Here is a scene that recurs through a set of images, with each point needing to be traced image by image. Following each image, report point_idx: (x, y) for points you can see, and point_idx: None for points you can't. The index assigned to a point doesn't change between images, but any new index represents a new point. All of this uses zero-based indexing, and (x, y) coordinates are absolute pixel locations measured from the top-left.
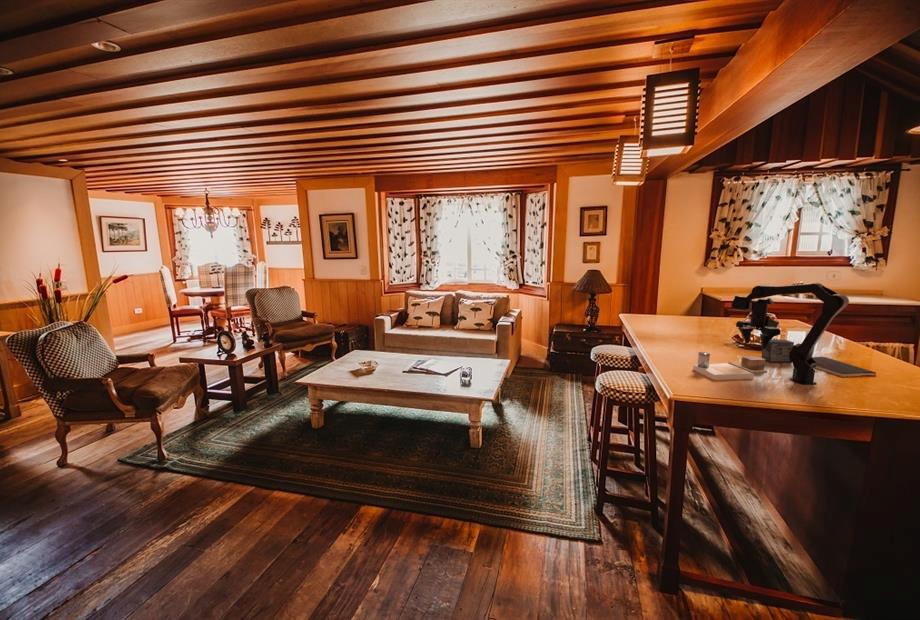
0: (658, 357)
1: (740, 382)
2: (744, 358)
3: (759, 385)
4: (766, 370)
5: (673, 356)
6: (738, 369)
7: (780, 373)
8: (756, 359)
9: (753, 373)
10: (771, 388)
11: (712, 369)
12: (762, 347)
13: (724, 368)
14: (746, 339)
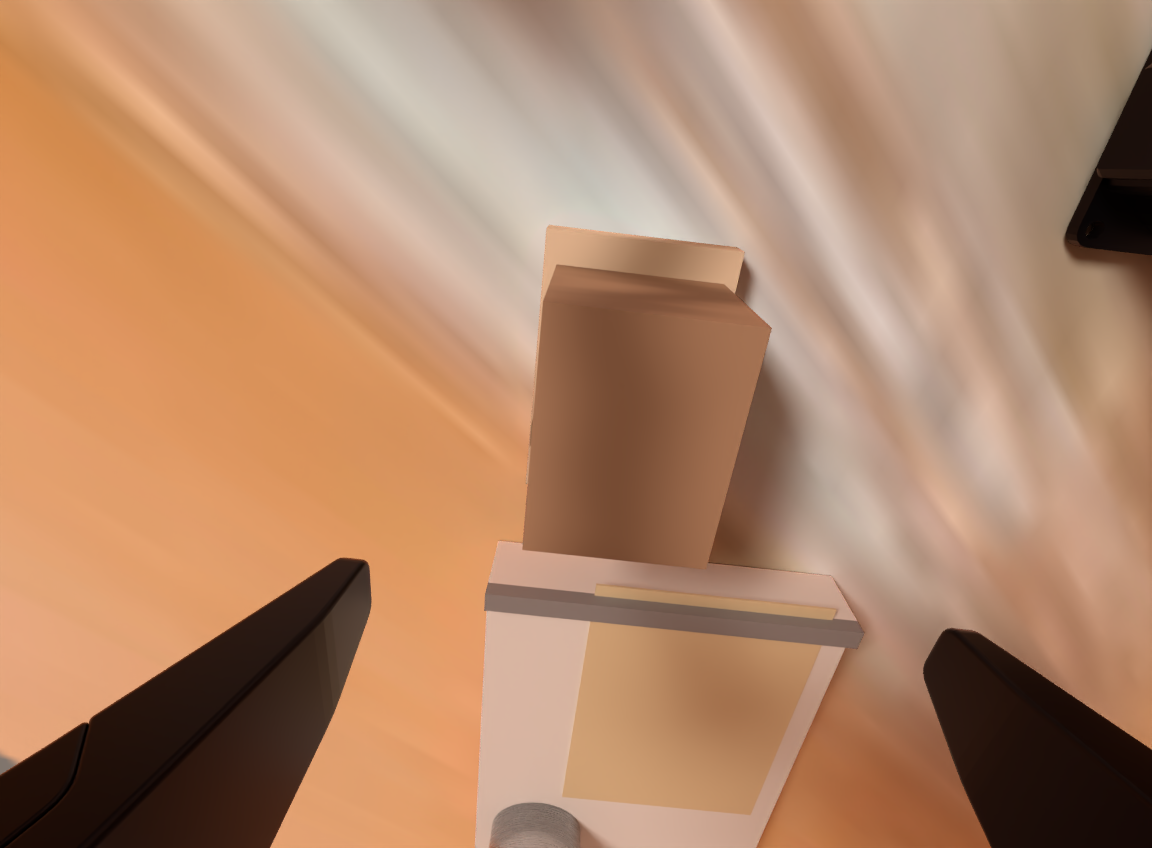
0: None
1: (847, 725)
2: (576, 546)
3: None
4: (741, 259)
5: (78, 714)
6: (710, 668)
7: (852, 88)
8: (714, 477)
9: (852, 621)
10: (1070, 637)
11: (628, 822)
12: (953, 712)
13: (639, 743)
14: (312, 735)
